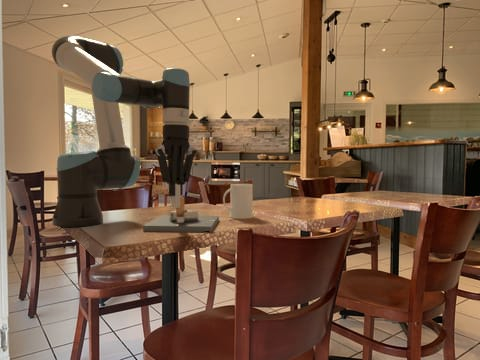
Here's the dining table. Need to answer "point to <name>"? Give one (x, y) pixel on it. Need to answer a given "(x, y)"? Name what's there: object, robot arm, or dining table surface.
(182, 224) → the panel
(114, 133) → the robot arm
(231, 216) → the mug
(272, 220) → the dining table surface
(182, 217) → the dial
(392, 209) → the dining table surface
